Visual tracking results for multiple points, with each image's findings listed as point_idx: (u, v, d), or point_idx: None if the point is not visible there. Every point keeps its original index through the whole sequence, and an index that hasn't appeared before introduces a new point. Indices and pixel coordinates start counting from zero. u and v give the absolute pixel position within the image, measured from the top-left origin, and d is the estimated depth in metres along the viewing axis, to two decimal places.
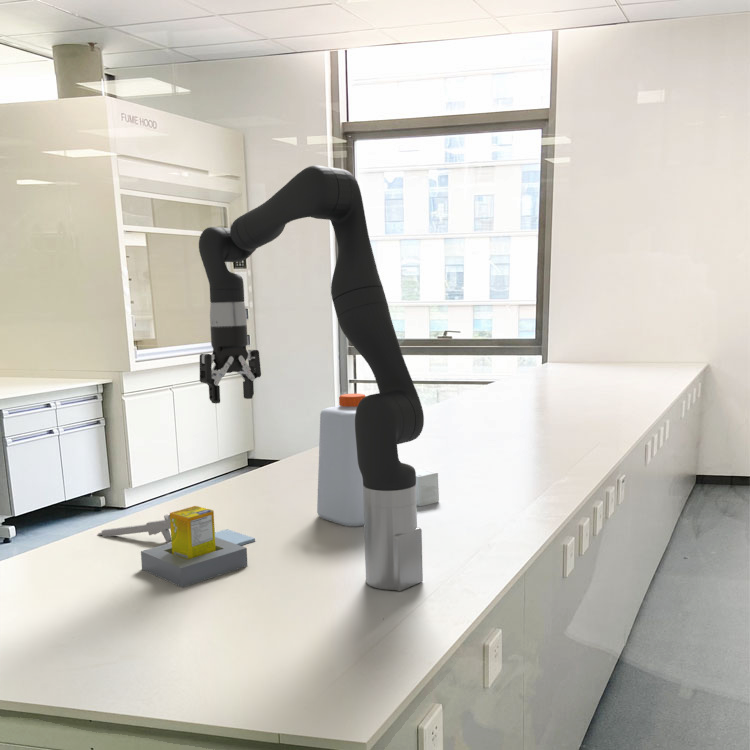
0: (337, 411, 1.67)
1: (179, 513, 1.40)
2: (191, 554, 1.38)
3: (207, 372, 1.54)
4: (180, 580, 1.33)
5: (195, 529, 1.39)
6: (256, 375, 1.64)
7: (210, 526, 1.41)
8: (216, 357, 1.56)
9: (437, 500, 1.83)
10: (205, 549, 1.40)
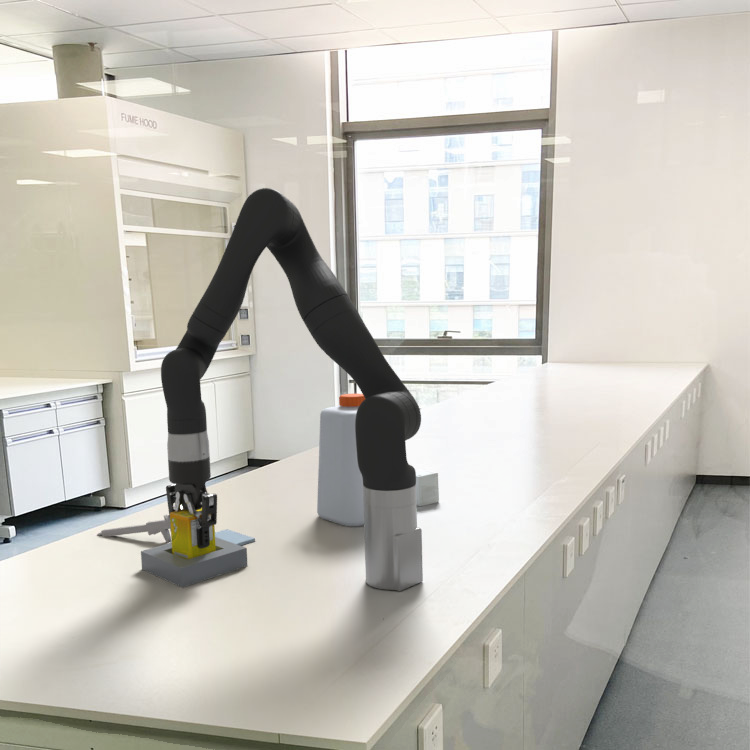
0: (337, 411, 1.67)
1: (179, 513, 1.40)
2: (191, 554, 1.38)
3: None
4: (180, 580, 1.33)
5: (195, 529, 1.39)
6: None
7: (210, 526, 1.41)
8: None
9: (437, 500, 1.83)
10: (205, 549, 1.40)
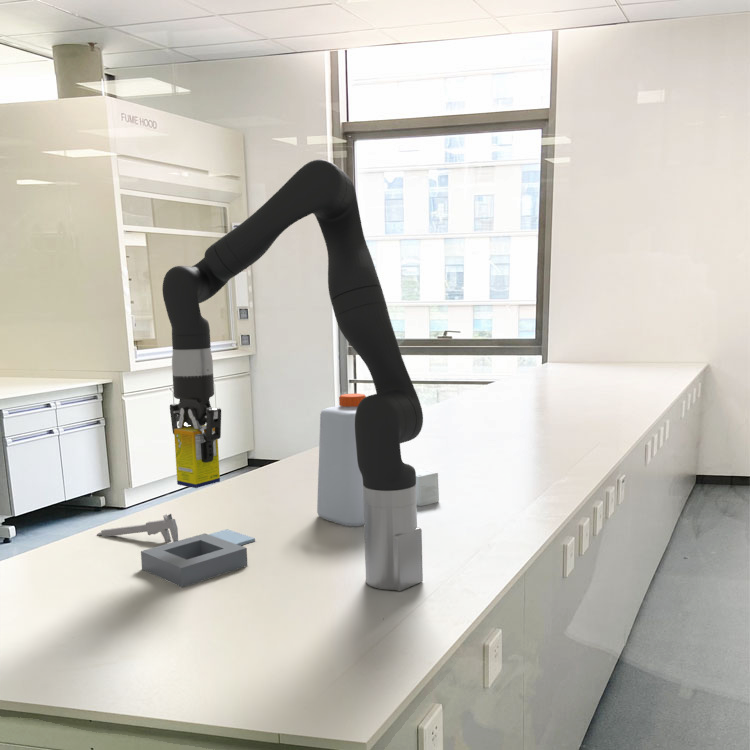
0: (337, 411, 1.67)
1: (183, 428, 1.43)
2: (195, 467, 1.41)
3: None
4: (180, 580, 1.33)
5: (199, 444, 1.42)
6: None
7: (213, 442, 1.44)
8: None
9: (437, 500, 1.83)
10: (209, 464, 1.44)
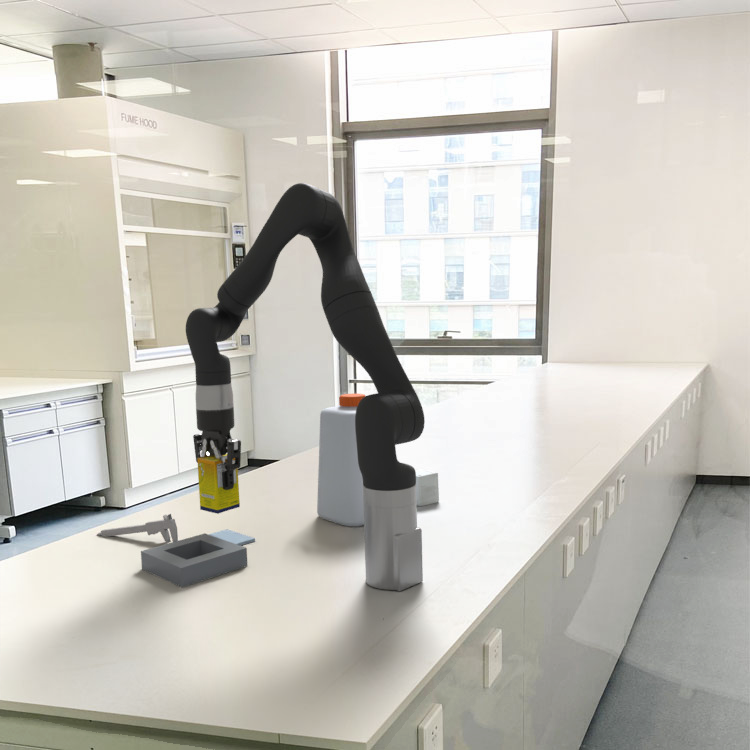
0: (337, 411, 1.67)
1: (206, 458, 1.54)
2: (217, 494, 1.52)
3: None
4: (180, 580, 1.33)
5: (220, 472, 1.53)
6: None
7: (234, 470, 1.55)
8: None
9: (437, 500, 1.83)
10: (229, 491, 1.55)
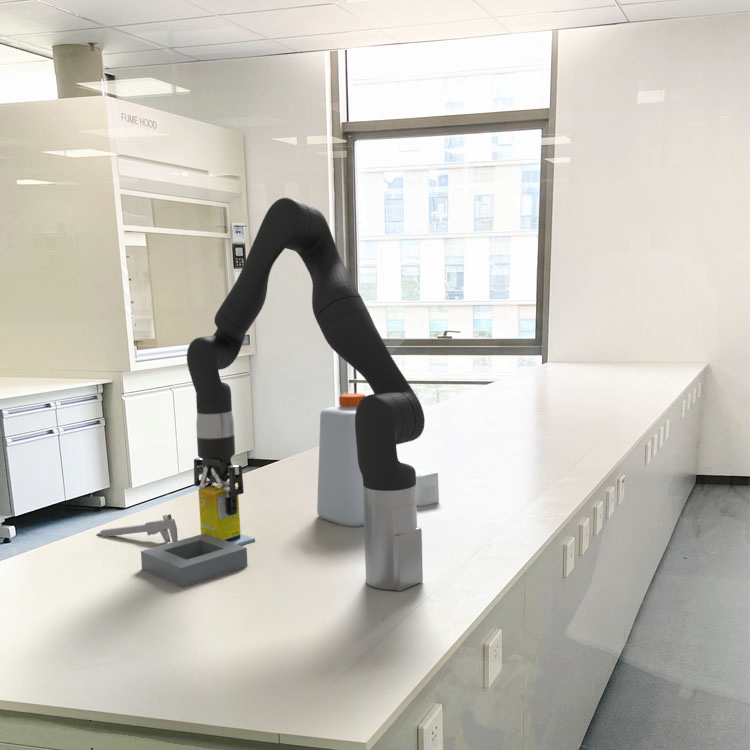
0: (337, 411, 1.67)
1: (207, 489, 1.55)
2: (217, 526, 1.53)
3: None
4: (180, 580, 1.33)
5: (221, 504, 1.53)
6: None
7: None
8: None
9: (437, 500, 1.83)
10: (230, 522, 1.55)
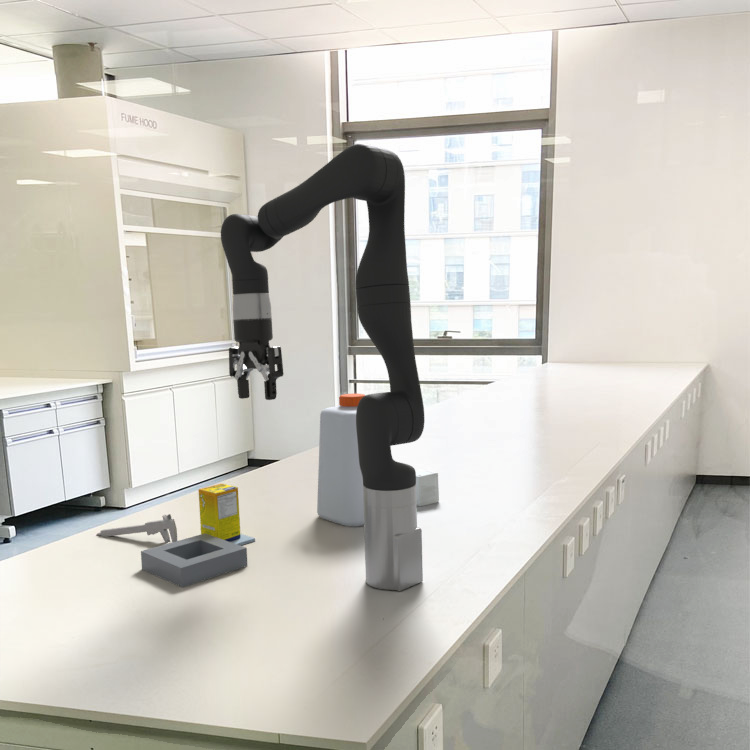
0: (337, 411, 1.67)
1: (207, 489, 1.55)
2: (217, 526, 1.53)
3: None
4: (180, 580, 1.33)
5: (221, 504, 1.53)
6: None
7: (234, 501, 1.56)
8: None
9: (437, 500, 1.83)
10: (230, 522, 1.55)
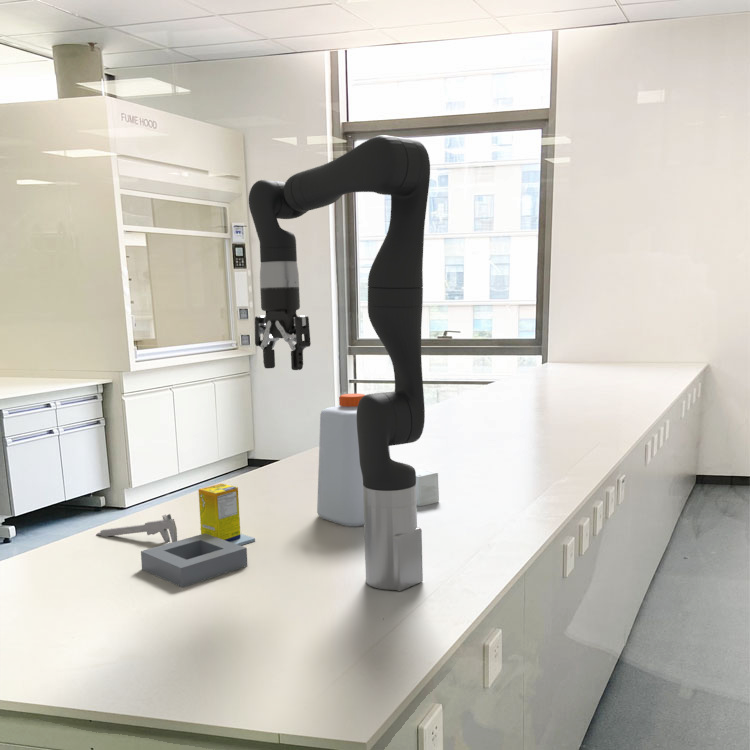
0: (337, 411, 1.67)
1: (207, 489, 1.55)
2: (217, 526, 1.53)
3: None
4: (180, 580, 1.33)
5: (221, 504, 1.53)
6: None
7: (234, 501, 1.56)
8: None
9: (437, 500, 1.83)
10: (230, 522, 1.55)
